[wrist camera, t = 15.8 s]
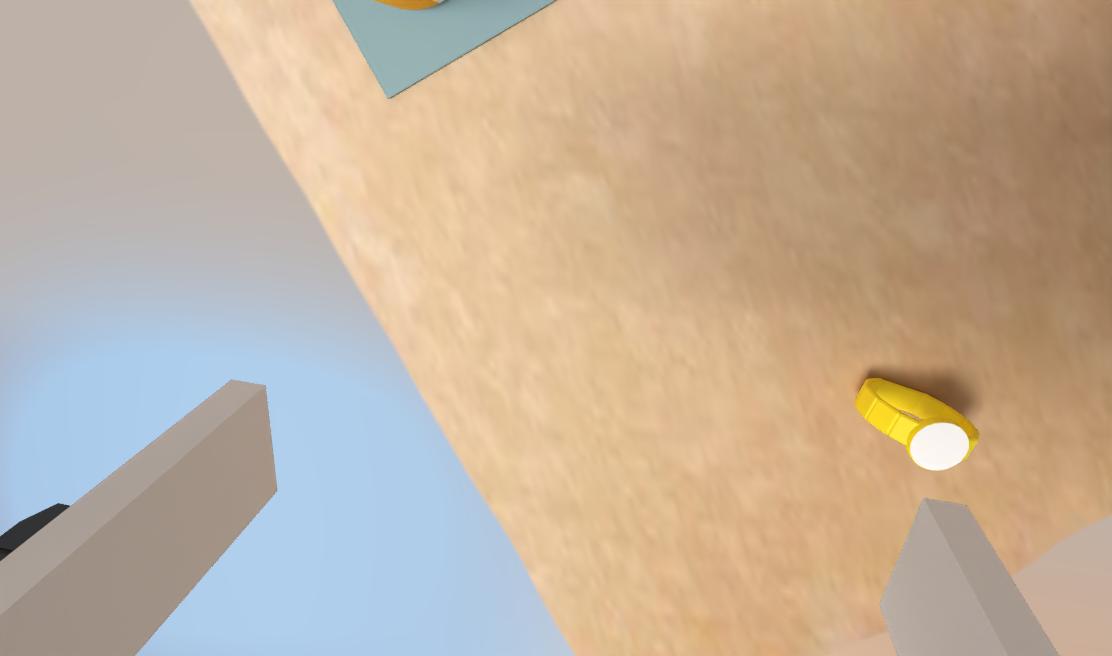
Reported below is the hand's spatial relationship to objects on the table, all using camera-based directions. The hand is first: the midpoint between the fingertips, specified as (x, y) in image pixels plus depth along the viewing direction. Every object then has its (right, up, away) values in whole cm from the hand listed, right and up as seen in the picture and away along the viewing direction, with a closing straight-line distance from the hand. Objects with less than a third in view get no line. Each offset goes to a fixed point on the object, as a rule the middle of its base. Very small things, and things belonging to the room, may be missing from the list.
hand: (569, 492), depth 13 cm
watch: (+19, 0, +25) cm, 32 cm away
